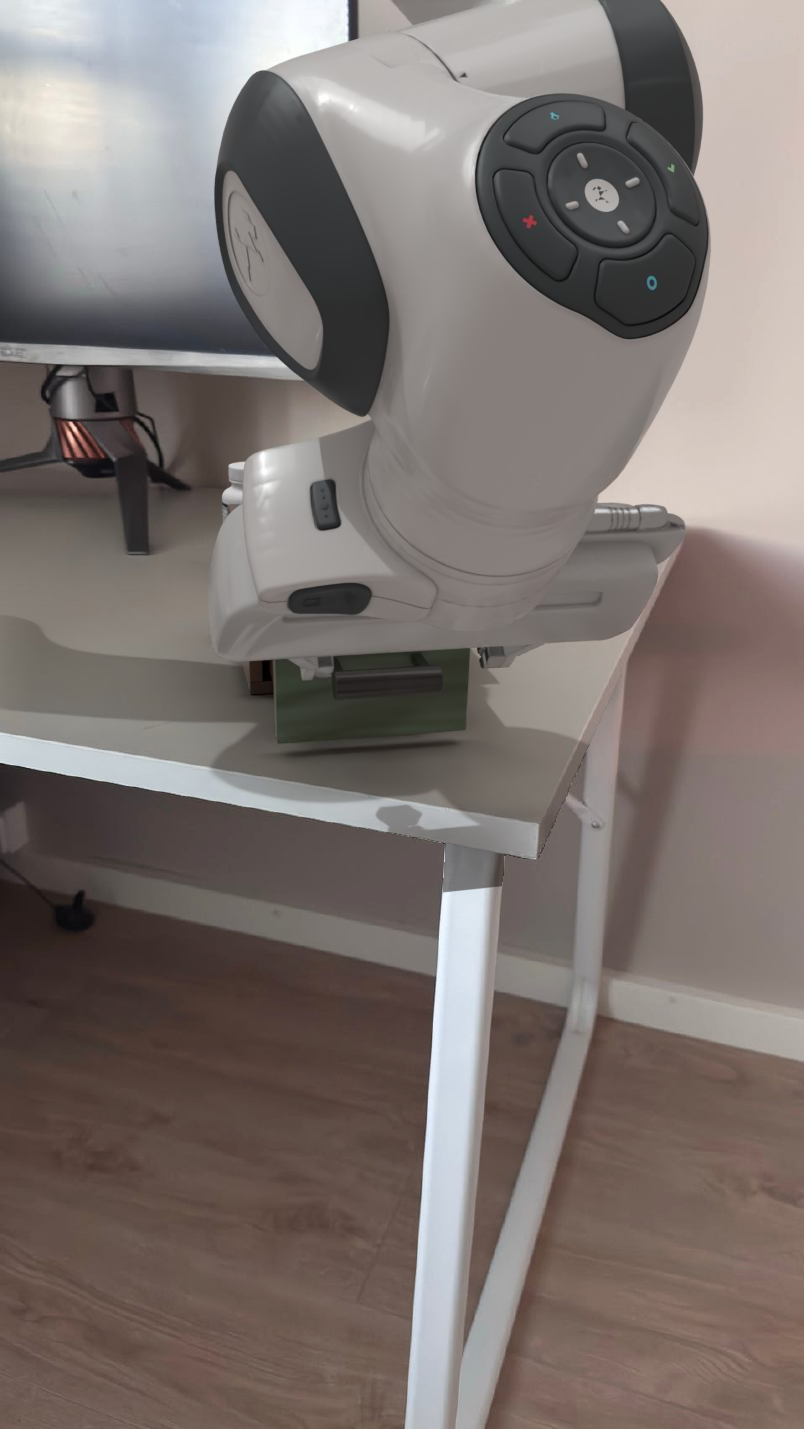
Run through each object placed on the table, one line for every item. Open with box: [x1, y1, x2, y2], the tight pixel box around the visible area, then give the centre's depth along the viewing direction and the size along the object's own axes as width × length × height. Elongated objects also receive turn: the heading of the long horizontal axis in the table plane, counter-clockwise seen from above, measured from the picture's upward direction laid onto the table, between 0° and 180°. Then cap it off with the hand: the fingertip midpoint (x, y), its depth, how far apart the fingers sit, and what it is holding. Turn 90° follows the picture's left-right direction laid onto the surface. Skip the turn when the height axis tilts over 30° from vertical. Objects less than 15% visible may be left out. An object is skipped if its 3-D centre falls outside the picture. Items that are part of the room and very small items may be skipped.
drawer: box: [266, 648, 471, 745], centre depth 67 cm, size 18×12×8 cm, turn 13°
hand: (404, 661), depth 56 cm, fingers open, 8 cm apart
